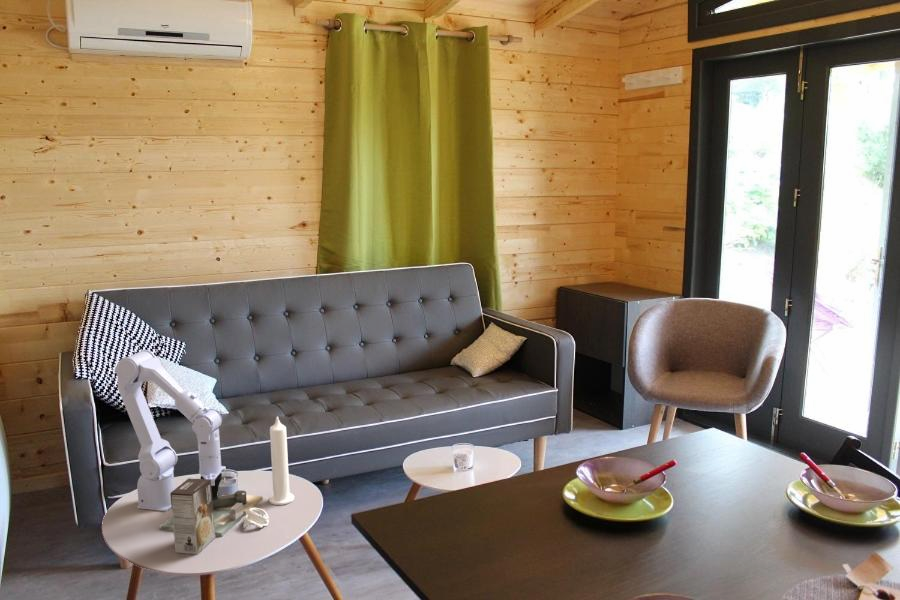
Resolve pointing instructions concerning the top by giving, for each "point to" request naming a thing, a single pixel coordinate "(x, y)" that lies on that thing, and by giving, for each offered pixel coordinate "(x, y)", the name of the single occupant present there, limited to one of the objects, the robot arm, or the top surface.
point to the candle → (279, 465)
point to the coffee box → (193, 515)
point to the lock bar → (229, 499)
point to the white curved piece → (256, 518)
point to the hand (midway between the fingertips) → (212, 500)
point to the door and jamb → (225, 515)
